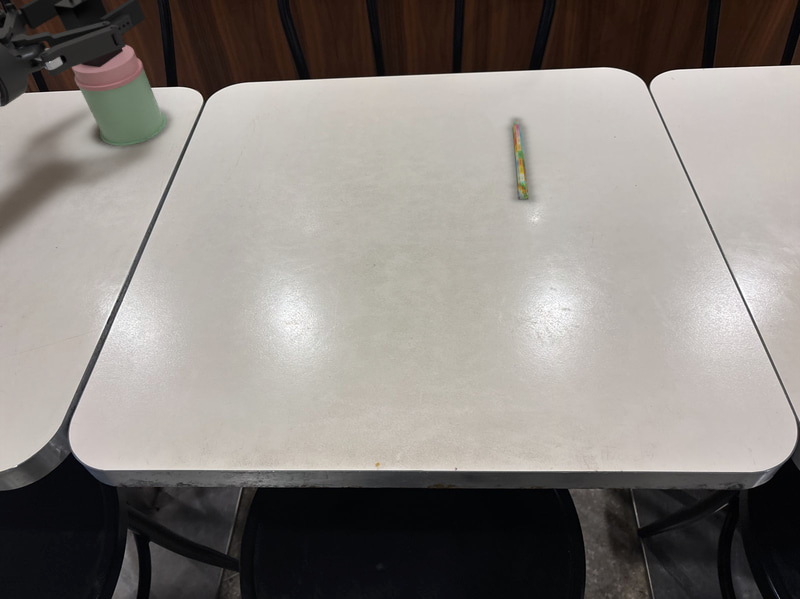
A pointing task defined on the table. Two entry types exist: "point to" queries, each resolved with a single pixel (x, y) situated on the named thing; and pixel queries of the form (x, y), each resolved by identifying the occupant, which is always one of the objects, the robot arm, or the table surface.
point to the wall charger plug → (84, 21)
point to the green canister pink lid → (121, 99)
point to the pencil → (520, 162)
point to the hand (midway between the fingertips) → (99, 3)
